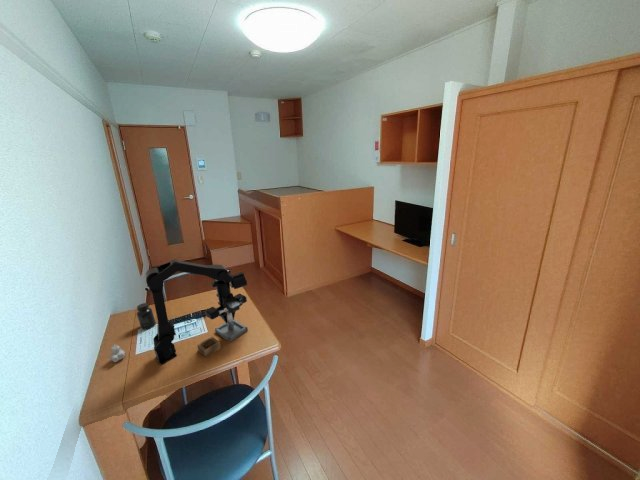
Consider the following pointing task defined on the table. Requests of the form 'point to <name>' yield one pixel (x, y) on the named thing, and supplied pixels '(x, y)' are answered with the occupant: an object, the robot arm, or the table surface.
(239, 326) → the tray
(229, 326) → the pin
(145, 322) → the supplement bottle
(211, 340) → the socket
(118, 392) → the table surface
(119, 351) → the grey knobbly cluster
